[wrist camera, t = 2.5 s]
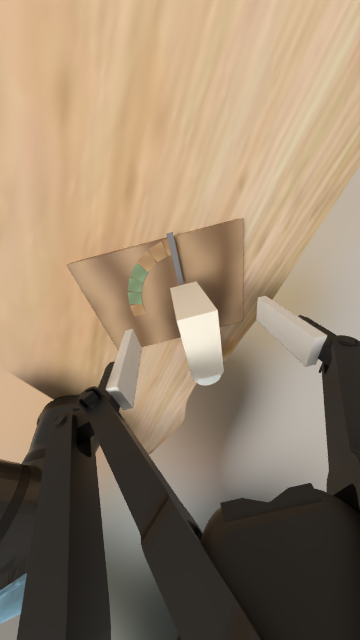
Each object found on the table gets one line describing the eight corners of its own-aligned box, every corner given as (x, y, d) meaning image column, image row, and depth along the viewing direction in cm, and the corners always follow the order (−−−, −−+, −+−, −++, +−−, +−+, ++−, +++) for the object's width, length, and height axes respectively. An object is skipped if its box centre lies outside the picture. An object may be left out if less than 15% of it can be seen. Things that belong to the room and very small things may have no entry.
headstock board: (121, 345, 28) (119, 353, 26) (74, 261, 20) (65, 265, 18) (237, 315, 28) (243, 321, 26) (235, 219, 20) (243, 218, 18)
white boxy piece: (179, 320, 24) (193, 381, 14) (156, 236, 18) (155, 243, 8) (197, 315, 24) (223, 373, 14) (181, 229, 17) (209, 229, 8)
